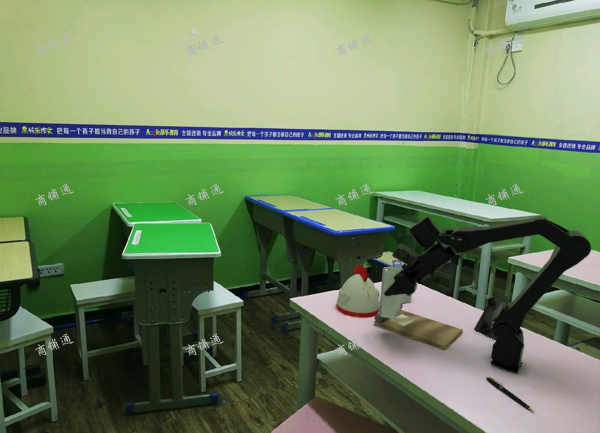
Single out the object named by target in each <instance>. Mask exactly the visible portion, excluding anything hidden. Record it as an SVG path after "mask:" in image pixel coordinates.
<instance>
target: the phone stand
mask: <svg viewBox="0 0 600 433" xmlns="http://www.w3.org/2000/svg"><path fill="white" fill-rule="evenodd" d="M502 301H504V302H505V303H506V304H509V301H510V299H509V298H508V296H507V295H504V294H499V295H495V296H491V297H489V298H488V299H487V300H486V306H485V309H484V310H483V312H482V314H481V315H480V317H479V318H478V321H477V322H476V324H475V326H474V328H473V330H475V331H474V332H475V333H478V332H479V333H478V334H480V333H481V334H480V335H482V334H483V335H482V336H484V335H485V337H486V338H488V337H489V338H488V339H491V338H492V339H491V340H493V339H494V340H493V341H495V340H497V337H496V336H495V335H494V334H493V332H492V318H493V311H494V310H496V309H497V308H498V307H499V306H500V304H501V302H502Z"/></svg>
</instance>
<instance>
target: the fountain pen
mask: <svg viewBox="0 0 600 433" xmlns="http://www.w3.org/2000/svg"><path fill="white" fill-rule="evenodd" d="M485 379H486V381H488V383H489V384H491V385H492V386H493V387H495V388H496V389H497V390H499V391H500V392H502V393H503V394H504V395H507V397H508V398H510V399H512V400H513V401H515V402H516V403H517V404H519V405H521V406H523V407H524V408H525V409H526V410H529V411H531V412H535V413H536V411H535V410H534V409H533V408H531V406H530V405H529V404H528V403H526V402H525V401H524V400H522V399H520V398H519V397H518V396H517V395H515V393H512V392H511V391H510V390H508V389H507V388H506V387H504V385H503V383H501V382H499V381H498V380H496V379H495V378H494V377H491V376H487V377H485Z"/></svg>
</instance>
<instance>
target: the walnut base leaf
mask: <svg viewBox="0 0 600 433" xmlns="http://www.w3.org/2000/svg"><path fill="white" fill-rule="evenodd" d="M403 307H404V306H403V303H400V312H399V314H398V315H397V317H396V319H390V318H386V317H381V313H378V314H377V315H375V316H374V321H373V325H374V326H376V327H378V328H381V329H384V330H387V331H391V332H393V333H395V334H398V335H401V336H404V337H407V338H409V339H413V340H415V341H418V342H421V343H424V344H427V345H429V346H432V347H435V348H438V349H441V350H443V351H446V349H447V348H449V347H450V346H451V344H453V343H454V342H455V341H456V340H457V339H458V338H459V337H461V335H463V332H464V329H463V328H459V327H456V326H453V325H450V324H447V323H443V322H440V321H437V320H435V319H431V318H427V317H424V316H421V315H418V314H415V313H412V312H409V311H405V310H403Z"/></svg>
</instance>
